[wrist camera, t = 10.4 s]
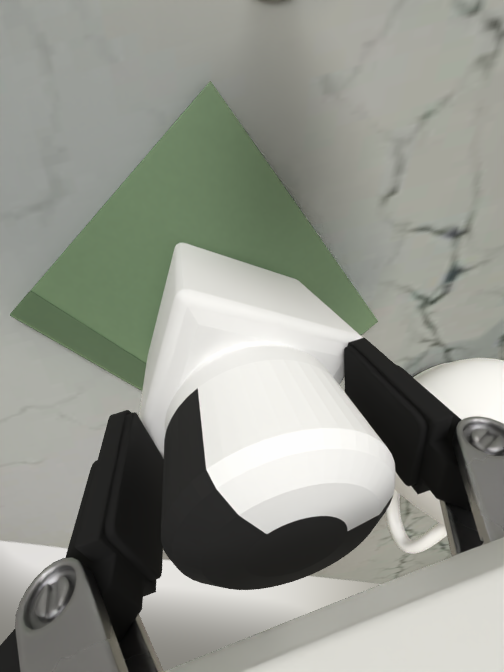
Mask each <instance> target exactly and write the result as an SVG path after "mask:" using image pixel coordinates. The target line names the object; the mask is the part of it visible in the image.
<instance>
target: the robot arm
mask: <svg viewBox="0 0 504 672" xmlns="http://www.w3.org/2000/svg"><path fill="white" fill-rule="evenodd" d="M344 371H345V393H346V395H347V396H348V397H349V398H350V400H351V401H352V402H353V404H354V405H355V406H356V408H357V409H358V410H359V411H360V413H361V414H362V415H363V417H364V418H365V419H366V421H367V422H368V423H369V424H370V426H371V427H372V428H373V430H374V431H375V432H376V434H377V435H378V436H379V437H380V439H381V440H382V441H383V443H384V444H385V445H386V447H387V448H388V449H389V451H390V452H391V454H392V456H393V459H394V462H395V472H396V473H397V475H398V476H399V477H400V479H401V480H402V481H403V483H404V484H405V485H406V486H412V488H413V489H414V490H415V492H416V493H417V494H421V493H424V492H426V491H429V490H430V491H431V492H432V494H433V495H434V496H435V497H436V499H439V500H440V505H441V510H442V514H443V519H444V523H445V528H446V532H447V537H448V542H449V546H450V551H451V555H452V557H449V558H447V559H444V560H442V561H439V562H437V563H434V564H432V565H429V566H426V567H424V568H421V569H419V570H416V571H414V572H411V573H409V574H406V575H404V576H401V577H398V578H396V579H393V580H391V581H388V582H386V583H383V584H381V585H378V586H376V587H373V588H371V589H368V590H366V591H363V592H361V593H358V594H356V595H353V596H350V597H348V598H345V599H343V600H340V601H338V602H335V603H333V604H330V605H328V606H326V607H323V608H320V609H318V610H315V611H313V612H310V613H308V614H306V615H303V616H300V617H298V618H296V619H293V620H290V621H288V622H285V623H283V624H280V625H278V626H276V627H273V628H270V629H268V630H266V631H263V632H261V633H258V634H255V635H253V636H251V637H248V638H246V639H243V640H241V641H238V642H236V643H233V644H231V645H228V646H226V647H224V648H221V649H218V650H216V651H213V652H211V653H209V654H206V655H204V656H201V657H199V658H196V659H194V660H191V661H189V662H186V663H184V664H181V665H179V666H176V667H174V668H171V669H169V670H167V671H163V669H162V666H161V664H160V662H159V659H158V657H157V655H156V652H155V651H154V648H153V646H152V643H151V641H150V639H149V636H148V634H147V632H146V630H145V627H144V625H143V623H142V620H141V618H140V616H139V613H140V611H141V610H142V599H143V596H146V595H149V594H151V593H154V592H156V579H158V578H160V576H161V573H162V553H163V546H162V543H161V513H162V488H163V463H164V459H163V457H162V455H161V454H160V452H159V450H158V448H157V447H156V445H155V443H154V442H153V440H152V438H151V437H150V435H149V433H148V432H147V430H146V428H145V427H144V425H143V423H142V422H141V420H140V418H139V417H138V415H137V414H136V413H135V412H134V413H131V412H130V411H129V410H126V411H123V412H120V413H116V414H113V415H111V416H110V417H109V420H108V424H107V427H106V431H105V435H104V439H103V442H102V446H101V450H100V453H99V457H98V460H97V461H95V462H94V463H93V465H92V467H91V470H90V474H89V477H88V481H87V484H86V488H85V491H84V495H83V498H82V502H81V505H80V509H79V512H78V516H77V519H76V523H75V526H74V530H73V533H72V537H71V540H70V544H69V547H68V551H67V555H66V558H63V559H61V560H58V561H56V562H54V563H52V564H51V565H49V566H48V567H47V568H45V569H44V570H43V571H42V572H41V573H40V574H39V575H38V576H37V577H36V578H35V579H34V581H33V582H32V583H31V585H30V586H29V587H28V589H27V590H26V592H25V594H24V596H23V598H22V599H21V601H20V604H19V607H18V610H17V613H16V622H15V629H14V631H13V632H12V633H11V634H10V635H9V636H8V637H7V639H6V640H5V641H4V642H3V643H2V644H1V645H0V672H504V424H503V423H501V422H499V421H496V420H493V419H491V418H486V417H480V416H475V417H468V418H464V419H462V420H461V419H460V418H459V417H458V416H457V415H456V414H454V413H453V412H452V411H451V410H450V409H449V408H448V407H446V406H445V405H444V404H443V403H442V402H441V401H439V400H438V399H437V398H436V397H435V396H434V395H433V394H431V393H430V392H429V391H428V390H427V389H426V388H425V387H423V386H422V385H421V384H420V383H419V382H418V381H416V380H415V379H414V378H413V377H412V376H411V375H410V374H408V373H407V372H406V371H405V370H404V369H403V368H401V367H400V366H397V365H395V364H394V363H393V362H392V361H391V360H389V359H388V358H387V357H386V356H385V355H384V354H383V353H381V352H380V351H379V350H378V349H377V348H376V347H375V346H373V345H372V344H371V343H370V342H369V341H368V340H367V339H365V338H361V339H358V340H355V341H351V342H349V343H348V346H347V347H345V348H344Z"/></svg>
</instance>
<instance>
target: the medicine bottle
mask: <svg viewBox="0 0 504 672" xmlns="http://www.w3.org/2000/svg"><path fill="white" fill-rule="evenodd" d="M361 338H362V336H361V335H359V334H358V333H357V332H356V331H355V330H354V329H353V328H351V327H350V326H349V325H348V324H347V323H346V322H345V321H344V320H342V319H341V318H340V317H339V316H338V315H337V314H336V313H335V312H333V311H332V310H331V309H330V308H329V307H328V306H327V305H326V304H324V303H323V302H322V301H321V300H320V299H319V298H318V297H316V296H315V295H314V294H313V293H312V292H311V291H310V290H309V289H307V288H306V287H305V286H304V285H303V284H302V283H301V282H300V281H298V280H297V279H294V278H291V277H288V276H285V275H281V274H278V273H275V272H272V271H269V270H266V269H263V268H260V267H257V266H254V265H251V264H248V263H245V262H242V261H239V260H236V259H232V258H229V257H226V256H223V255H220V254H217V253H214V252H211V251H208V250H205V249H202V248H199V247H196V246H193V245H190V244H186V243H178V244H176V246H175V248H174V252H173V256H172V260H171V264H170V268H169V272H168V276H167V280H166V284H165V288H164V292H163V296H162V300H161V304H160V308H159V312H158V316H157V320H156V324H155V328H154V332H153V336H152V340H151V344H150V348H149V352H148V356H147V363H146V370H145V377H144V383H143V390H142V397H141V403H140V410H139V418H140V420H141V422H142V423H143V425H144V427H145V428H146V430H147V432H148V433H149V435H150V437H151V438H152V440H153V442H154V443H155V445H156V447H157V448H158V450H159V452H160V454H161V455H162V457H163V459H164V463H163V488H162V513H161V543H162V546H163V550H164V551H165V553H166V554H167V556H168V557H169V559H170V560H171V561H172V562H173V563H174V565H175V566H176V567H177V568H178V569H179V570H180V571H181V572H182V573H183V574H184V575H186V576H187V577H189V578H191V579H192V580H195V581H198V582H201V583H205V584H209V585H214V586H219V587H223V588H228V589H237V590H252V589H261V588H268V587H273V586H278V585H282V584H285V583H289V582H292V581H295V580H298V579H301V578H304V577H306V576H309V575H311V574H313V573H315V572H318V571H320V570H322V569H324V568H326V567H327V566H329V565H331V564H333V563H335V562H336V561H338V560H339V559H341V558H342V557H344V556H345V555H347V554H348V553H350V552H351V551H352V550H353V549H355V548H356V547H357V546H358V545H359V544H360V543H361V542H362V541H363V540H364V539H365V538H366V537H367V536H368V535H369V534H370V532H371V531H372V530H373V528H374V527H375V526H376V524H377V523H378V521H379V520H380V519H381V517H382V516H383V515H384V513H385V512H386V510H387V508H388V507H389V505H390V503H391V500H392V497H393V495H394V489H395V462H394V459H393V456H392V454H391V452H390V451H389V449H388V448H387V447H386V445H385V444H384V443H383V441H382V440H381V439H380V437H379V436H378V435H377V434H376V432H375V431H374V430H373V428H372V427H371V426H370V424H369V423H368V422H367V421H366V419H365V418H364V417H363V415H362V414H361V413H360V411H359V410H358V409H357V408H356V406H355V405H354V404H353V402H352V401H351V400H350V398H349V397H348V396H347V395H346V393H345V392H344V391H343V389H342V388H341V387H340V383H341V381H342V380H343V378H344V376H345V371H344V348H345V347H347V346H348V343H349V342H351V341H355V340H358V339H361Z"/></svg>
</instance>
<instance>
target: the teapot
mask: <svg viewBox="0 0 504 672" xmlns="http://www.w3.org/2000/svg"><path fill="white" fill-rule="evenodd" d="M413 378H414V379H415V380H416V381H418V382H419V383H420V384H421V385H422V386H423V387H425V388H426V389H427V390H428V391H429V392H430V393H431V394H433V395H434V396H435V397H436V398H437V399H438V400H439V401H441V402H442V403H443V404H444V405H445V406H446V407H448V408H449V409H450V410H451V411H452V412H453V413H454V414H456V415H457V416H458V417H459V418H460V419H461V420H462V419H464V418H468V417H475V416H480V417H486V418H491V419H493V420H496V421H499V422H501V423H503V424H504V361H503V360H499V359H491V358H471V359H464V360H457V361H454V362H449V363H443V364H440V365H437V366H434V367H431V368H429V369H427V370H425V371H423V372H421V373H419V374H418V375H416V376H414V377H413ZM400 495H402V496H403V497H404V498H405V499H407V500H408V501H409V502H410V503H412V504H413V505H414V506H416V507H417V508H418V509H420V510H421V511H423V512H424V513H426V514H427V515H428V516H430V517H431V518H433V519H434V520H436V521H437V522H438V523H437V524H436V525H435V526H433V527H432V528H431V529H430V530H428V531H427V532H426V533H424V534H423V535H422V536H420V537H418V538H417V539H414V540H410V539H409V537H408V536H407V534H406V532H405V529H404V527H403V524H402V520H401V515H400ZM386 520H387V525H388V528H389V531H390V534H391V536H392V538H393V540H394V542H395V543H396V544H397V546H398V547H399V548H400V549H401V550H403V551H404V552H407V553H412V554H413V553H418V552H422V551H424V550H426V549H428V548H430V547H431V546H433V545H435V544H436V543H437V542H439V541H440V540H441V539H443V538H444V537H445V536H447V532H446V528H445V523H444V519H443V514H442V510H441V505H440V500H439V499H436V497H435V496H434V495H433V494H432V492H431V491H430V490H429V491H426V492H424V493H421V494H417V493H416V492H415V490H414V489H413V488H412V486H406V485H405V484H404V483H403V481H402V480H401V479H400V477H399V476H398V475H397V473H396V472H395V489H394V495H393V497H392V500H391V503H390V505H389V507H388V508H387V510H386Z"/></svg>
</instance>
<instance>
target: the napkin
mask: <svg viewBox="0 0 504 672" xmlns="http://www.w3.org/2000/svg"><path fill="white" fill-rule="evenodd" d="M178 243H186V244H190V245H193V246H196V247H199V248H202V249H205V250H208V251H211V252H214V253H217V254H220V255H223V256H226V257H229V258H232V259H236V260H239V261H242V262H245V263H248V264H251V265H254V266H257V267H260V268H263V269H266V270H269V271H272V272H275V273H278V274H281V275H285V276H288V277H291V278H294V279H297V280H298V281H300V282H301V283H302V284H303V285H304V286H305V287H306V288H307V289H309V290H310V291H311V292H312V293H313V294H314V295H315V296H316V297H318V298H319V299H320V300H321V301H322V302H323V303H324V304H326V305H327V306H328V307H329V308H330V309H331V310H332V311H333V312H335V313H336V314H337V315H338V316H339V317H340V318H341V319H342V320H344V321H345V322H346V323H347V324H348V325H349V326H350V327H351V328H353V329H354V330H355V331H356V332H357V333H358V334H359V335H362V334H363V333H364V332H366V331H367V330H368V329H369V328H371V327H372V326H373V325H374V324H375V323H377V322H378V321H377V319H376V318H375V316H374V315H373V314H372V312H371V311H370V309H369V308H368V306H367V305H366V303H365V302H364V301H363V299H362V298H361V296H360V295H359V293H358V292H357V291H356V289H355V288H354V286H353V285H352V283H351V282H350V281H349V279H348V278H347V276H346V275H345V273H344V272H343V270H342V269H341V268H340V266H339V265H338V263H337V262H336V260H335V259H334V258H333V256H332V255H331V253H330V252H329V250H328V249H327V247H326V246H325V245H324V243H323V242H322V240H321V239H320V237H319V236H318V235H317V233H316V232H315V230H314V229H313V227H312V226H311V225H310V223H309V222H308V220H307V219H306V217H305V216H304V214H303V213H302V212H301V210H300V209H299V207H298V206H297V204H296V203H295V202H294V200H293V199H292V197H291V196H290V194H289V193H288V192H287V190H286V189H285V187H284V186H283V184H282V183H281V181H280V180H279V179H278V177H277V176H276V174H275V173H274V171H273V170H272V169H271V167H270V166H269V164H268V163H267V161H266V160H265V158H264V157H263V156H262V154H261V153H260V151H259V150H258V148H257V147H256V146H255V144H254V143H253V141H252V140H251V138H250V137H249V136H248V134H247V133H246V131H245V130H244V128H243V127H242V125H241V124H240V123H239V121H238V120H237V118H236V117H235V115H234V114H233V113H232V111H231V110H230V108H229V107H228V105H227V104H226V103H225V101H224V100H223V98H222V97H221V95H220V94H219V92H218V91H217V90H216V88H215V87H214V85H213V84H212V82H211V81H210V82H209V83H208V84H207V86H206V87H205V88H204V89H203V90H202V91H201V93H200V94H199V95H198V96H197V97H196V98H195V100H194V101H193V102H192V103H191V104H190V105H189V107H188V108H187V109H186V110H185V111H184V112H183V114H182V115H181V116H180V117H179V118H178V119H177V121H176V122H175V123H174V124H173V125H172V126H171V128H170V129H169V130H168V131H167V132H166V133H165V135H164V136H163V137H162V138H161V139H160V140H159V141H158V143H157V144H156V145H155V146H154V147H153V148H152V150H151V151H150V152H149V153H148V154H147V155H146V157H145V158H144V159H143V160H142V161H141V162H140V164H139V165H138V166H137V167H136V168H135V169H134V171H133V172H132V173H131V174H130V175H129V176H128V178H127V179H126V180H125V181H124V182H123V183H122V185H121V186H120V187H119V188H118V189H117V190H116V192H115V193H114V194H113V195H112V196H111V197H110V199H109V200H108V201H107V202H106V203H105V204H104V206H103V207H102V208H101V209H100V210H99V211H98V213H97V214H96V215H95V216H94V217H93V218H92V220H91V221H90V222H89V223H88V224H87V225H86V227H85V228H84V229H83V230H82V231H81V232H80V234H79V235H78V236H77V237H76V238H75V239H74V241H73V242H72V243H71V244H70V245H69V246H68V248H67V249H66V250H65V251H64V252H63V253H62V255H61V256H60V257H59V258H58V259H57V260H56V262H55V263H54V264H53V265H52V266H51V267H50V269H49V270H48V271H47V272H46V273H45V274H44V276H43V277H42V278H41V279H40V280H39V281H38V283H37V284H36V285H35V286H34V287H33V288H32V290H31V291H30V292H29V293H28V294H27V295H26V296H25V297H24V299H23V300H22V301H21V302H20V303H19V304H18V306H17V307H16V308H15V309H14V310H13V311H12V313H11V314H10V316H12V317H14V318H15V319H17V320H19V321H21V322H22V323H24V324H26V325H28V326H29V327H31V328H33V329H35V330H36V331H38V332H40V333H42V334H43V335H45V336H47V337H49V338H50V339H52V340H54V341H56V342H57V343H59V344H61V345H63V346H64V347H66V348H68V349H70V350H71V351H73V352H75V353H77V354H78V355H80V356H82V357H84V358H85V359H87V360H89V361H91V362H92V363H94V364H96V365H98V366H100V367H101V368H103V369H105V370H107V371H108V372H110V373H112V374H114V375H115V376H117V377H119V378H121V379H122V380H124V381H126V382H128V383H129V384H131V385H133V386H135V387H136V388H138V389H140V390H143V383H144V377H145V370H146V363H147V356H148V352H149V348H150V344H151V340H152V336H153V332H154V328H155V324H156V320H157V316H158V312H159V308H160V304H161V300H162V296H163V292H164V288H165V284H166V280H167V276H168V272H169V268H170V264H171V260H172V256H173V252H174V248H175V246H176V244H178Z"/></svg>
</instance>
